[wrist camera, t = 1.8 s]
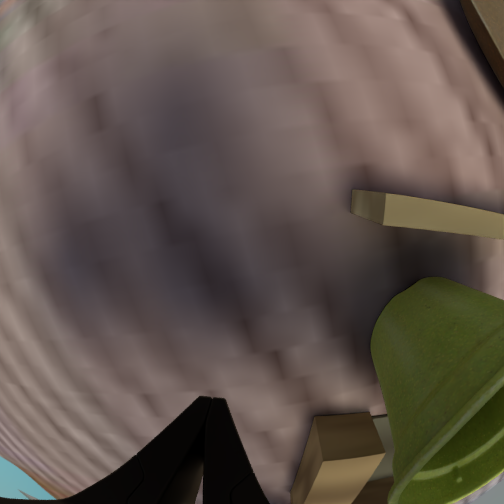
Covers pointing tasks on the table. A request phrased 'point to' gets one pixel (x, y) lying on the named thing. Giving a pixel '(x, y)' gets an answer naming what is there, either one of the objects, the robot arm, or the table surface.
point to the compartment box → (362, 424)
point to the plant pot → (442, 389)
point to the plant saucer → (488, 30)
